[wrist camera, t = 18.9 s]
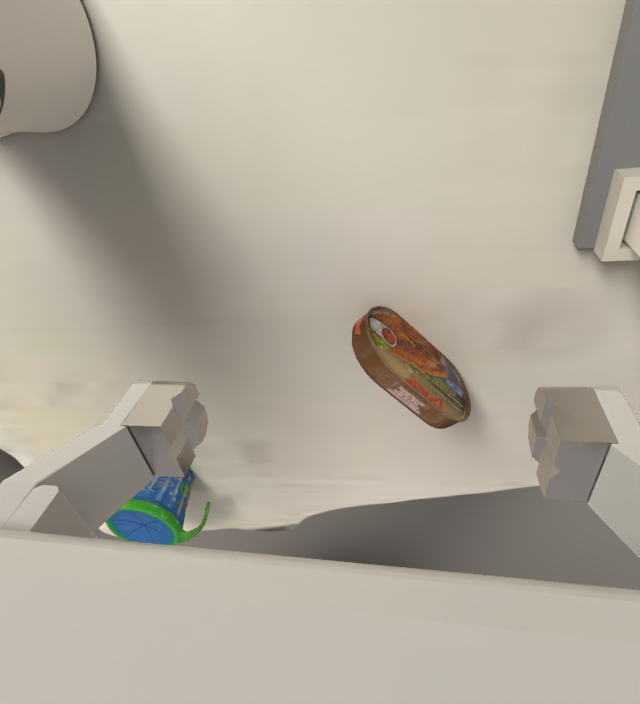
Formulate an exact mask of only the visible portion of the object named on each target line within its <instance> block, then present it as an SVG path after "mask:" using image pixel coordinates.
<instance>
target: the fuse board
mask: <svg viewBox="0 0 640 704" xmlns="http://www.w3.org/2000/svg"><path fill="white" fill-rule="evenodd" d="M638 190H640V0H626V5H625V9H624V14H623V18H622V23H621V27H620V32H619V36H618V41H617V45H616V50H615V54H614V58H613V63H612V67H611V72H610V76H609V81H608V85H607V90H606V94H605V99H604V103H603V108H602V112H601V117H600V121H599V126H598V130H597V135H596V139H595V143H594V148H593V152H592V157H591V161H590V166H589V170H588V175H587V179H586V184H585V188H584V193H583V197H582V202H581V206H580V211H579V215H578V220H577V224H576V228H575V233H574V237H573V243H574V244H575V246H576V247H577V248H578V249H584V248H594V252H595V253H596V255H597V256H598V257H599V259H600V260H601V261H602V262H604V261H628V260H640V257H639V256H638V254H637V253H636V252H635V251H634V250H633V249H632V248H631V247H630V246H629V245H628V244H627V243H626V241H625V240H624V239H623V235H624V231H625V228H626V224H627V221H628V218H629V214H630V211H631V207H632V204H633V200H634V197H635V194H636V191H638Z"/></svg>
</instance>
